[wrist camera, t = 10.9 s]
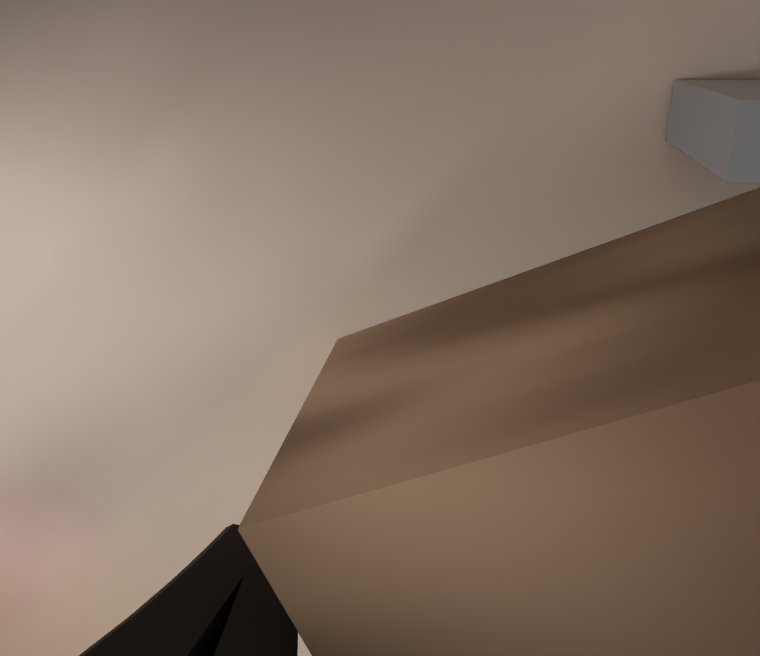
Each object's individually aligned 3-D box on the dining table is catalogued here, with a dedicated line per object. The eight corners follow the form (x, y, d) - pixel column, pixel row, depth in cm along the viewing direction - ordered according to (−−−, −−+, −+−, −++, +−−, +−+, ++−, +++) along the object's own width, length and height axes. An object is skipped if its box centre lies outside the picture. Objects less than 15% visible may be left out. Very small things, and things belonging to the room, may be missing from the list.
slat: (418, 505, 13) (374, 760, 8) (337, 339, 12) (237, 530, 7) (1064, 328, 10) (1521, 571, 6) (1031, 89, 9) (1557, 152, 5)
